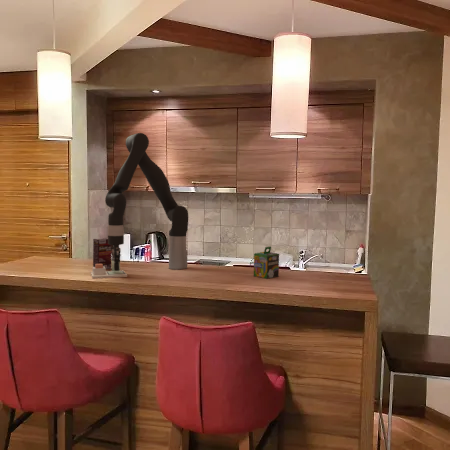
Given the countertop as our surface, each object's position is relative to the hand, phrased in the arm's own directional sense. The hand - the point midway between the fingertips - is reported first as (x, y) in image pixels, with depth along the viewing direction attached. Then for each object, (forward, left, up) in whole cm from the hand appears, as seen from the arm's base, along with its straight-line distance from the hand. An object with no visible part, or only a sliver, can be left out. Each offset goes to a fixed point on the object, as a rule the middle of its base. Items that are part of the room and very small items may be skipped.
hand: (116, 269), depth 235 cm
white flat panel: (+3, 0, -3) cm, 4 cm away
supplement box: (+4, -19, -3) cm, 20 cm away
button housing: (+8, 0, -3) cm, 8 cm away
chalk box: (-70, +23, -3) cm, 73 cm away
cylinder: (0, 0, -1) cm, 1 cm away
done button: (+8, 0, 0) cm, 8 cm away
